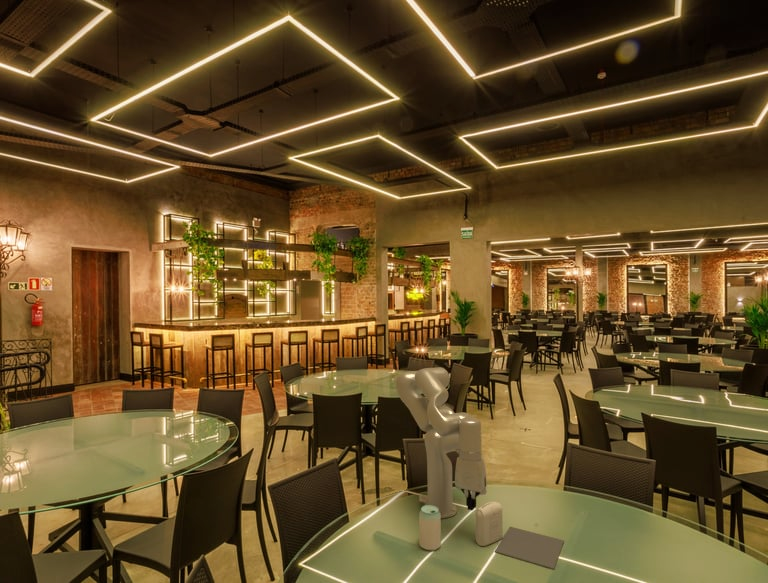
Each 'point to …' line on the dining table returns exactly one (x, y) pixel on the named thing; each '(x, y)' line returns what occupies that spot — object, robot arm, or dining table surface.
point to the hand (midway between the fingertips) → (471, 508)
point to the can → (429, 527)
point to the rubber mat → (530, 547)
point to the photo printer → (489, 523)
